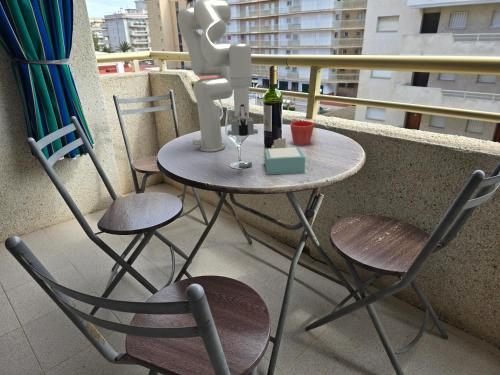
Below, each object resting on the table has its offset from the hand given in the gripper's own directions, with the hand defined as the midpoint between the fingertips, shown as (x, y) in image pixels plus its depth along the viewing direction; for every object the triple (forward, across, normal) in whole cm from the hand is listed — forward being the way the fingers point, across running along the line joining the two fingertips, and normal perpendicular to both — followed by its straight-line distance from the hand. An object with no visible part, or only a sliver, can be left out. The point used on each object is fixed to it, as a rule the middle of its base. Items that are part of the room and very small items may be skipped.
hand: (243, 132), depth 117 cm
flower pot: (+15, -30, +28) cm, 44 cm away
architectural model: (+16, -16, +15) cm, 27 cm away
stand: (+15, 0, +15) cm, 21 cm away
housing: (0, 0, 0) cm, 0 cm away
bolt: (+13, -2, 0) cm, 14 cm away
